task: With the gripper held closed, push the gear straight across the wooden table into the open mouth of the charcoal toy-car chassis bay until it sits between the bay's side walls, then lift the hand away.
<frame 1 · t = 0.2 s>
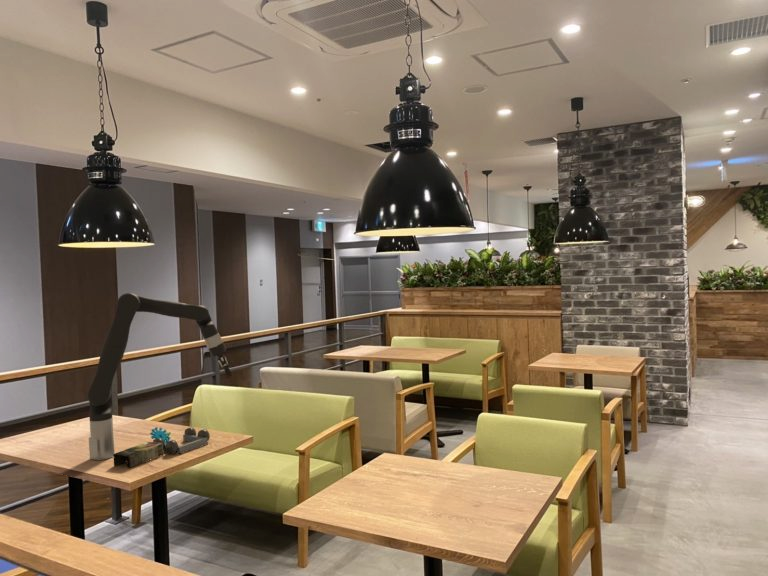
hand: (229, 374, 279), 31 cm above the table, tool tilted 20°, fingers open, 8 cm apart
chassis bay: (181, 446, 271), on the table
dark green hollow block: (140, 461, 254), on the table
gear: (161, 443, 278), on the table
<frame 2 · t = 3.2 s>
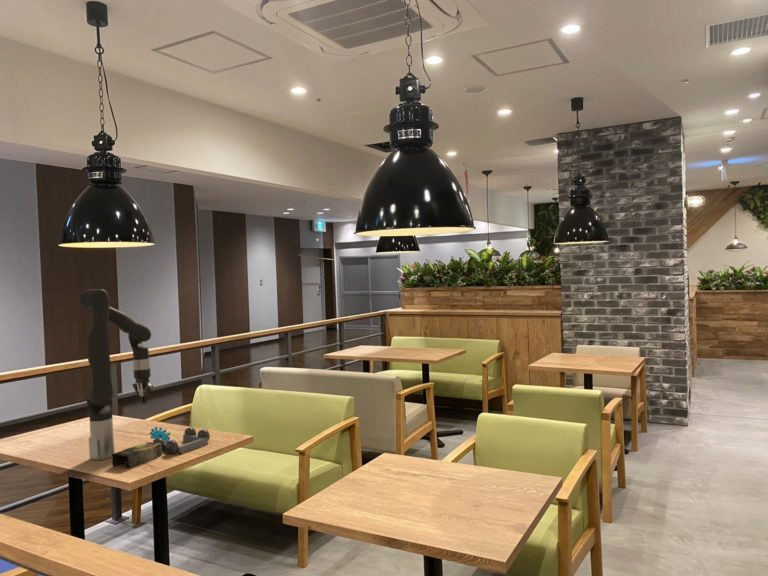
hand: (143, 403, 283), 18 cm above the table, tool pointing down, fingers closed
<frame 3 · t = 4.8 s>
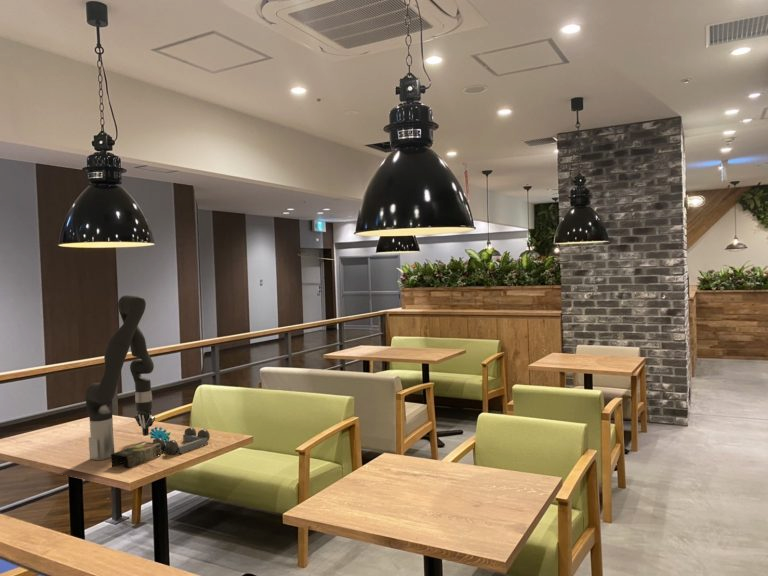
hand: (145, 435, 283), 3 cm above the table, tool pointing down, fingers closed
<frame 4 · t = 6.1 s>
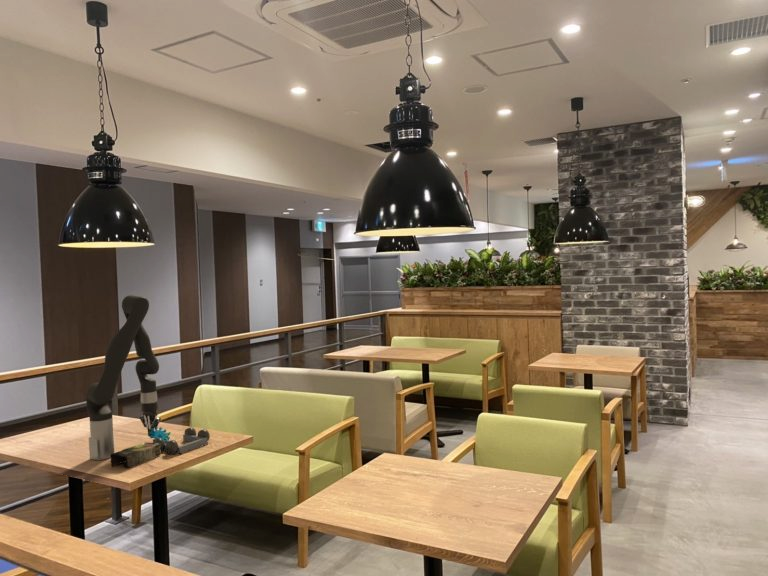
hand: (151, 436, 281), 3 cm above the table, tool pointing down, fingers closed
gear: (161, 443, 278), on the table, touching gripper, hand
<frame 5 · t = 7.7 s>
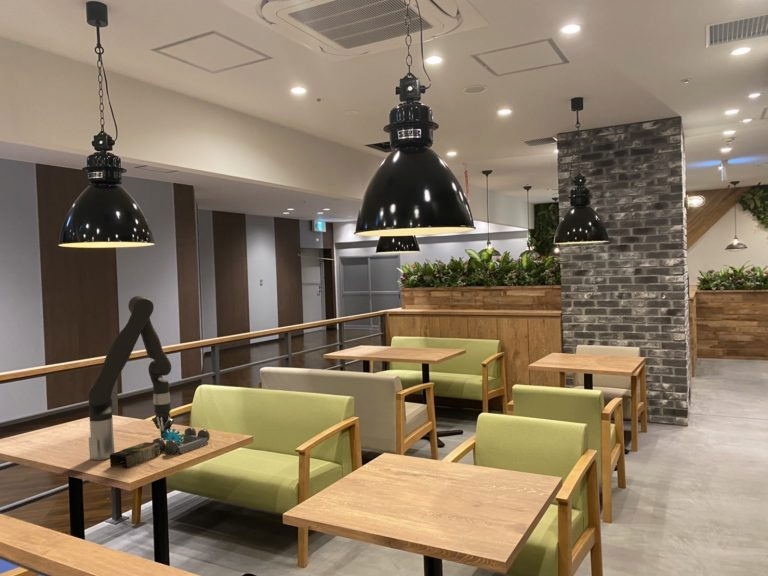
hand: (164, 437, 277), 3 cm above the table, tool pointing down, fingers closed
gear: (174, 445, 274), on the table, touching gripper, hand
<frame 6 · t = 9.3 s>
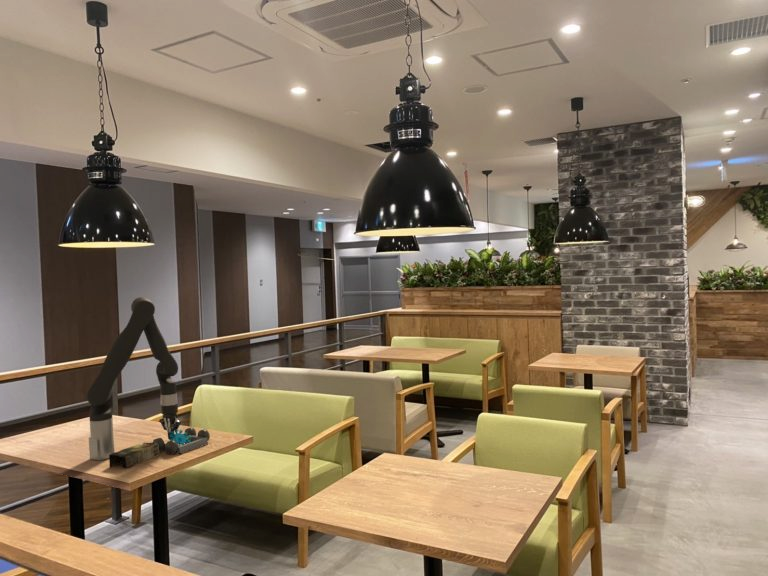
hand: (171, 439, 275), 3 cm above the table, tool pointing down, fingers closed
gear: (181, 446, 271), resting in chassis bay, touching gripper, hand
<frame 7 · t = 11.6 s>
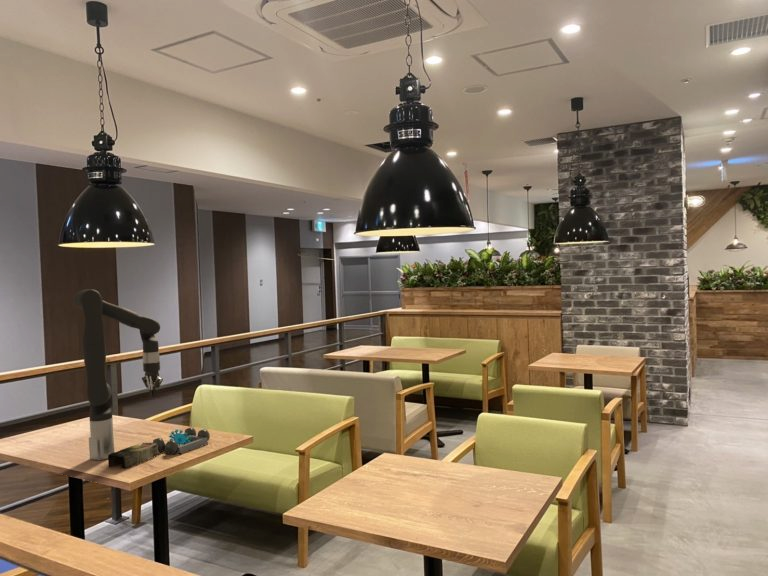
hand: (153, 397, 279), 22 cm above the table, tool pointing down, fingers closed
gear: (181, 447, 271), resting in chassis bay
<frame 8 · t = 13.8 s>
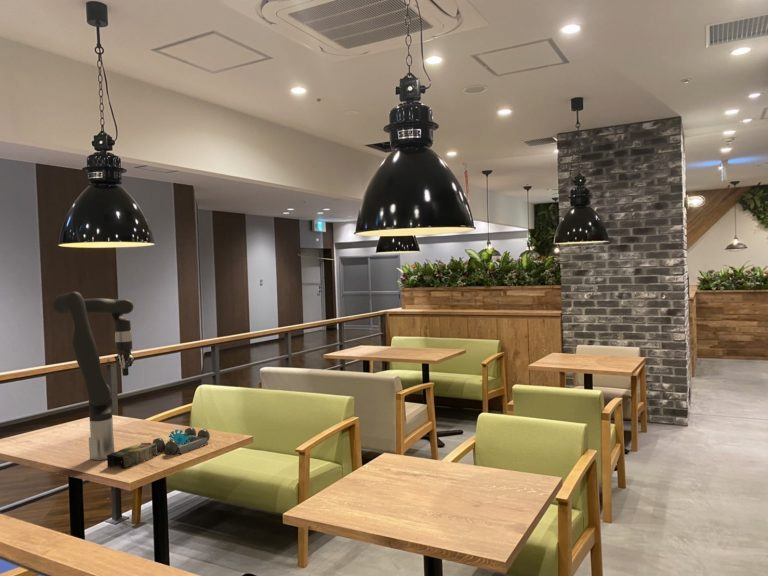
hand: (125, 375, 284), 32 cm above the table, tool pointing down, fingers closed
at the end: gear inside the target area on the chassis bay (3.3 cm from its centre), point 0.0 cm above the chassis bay's base; gear tilted 0° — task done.
